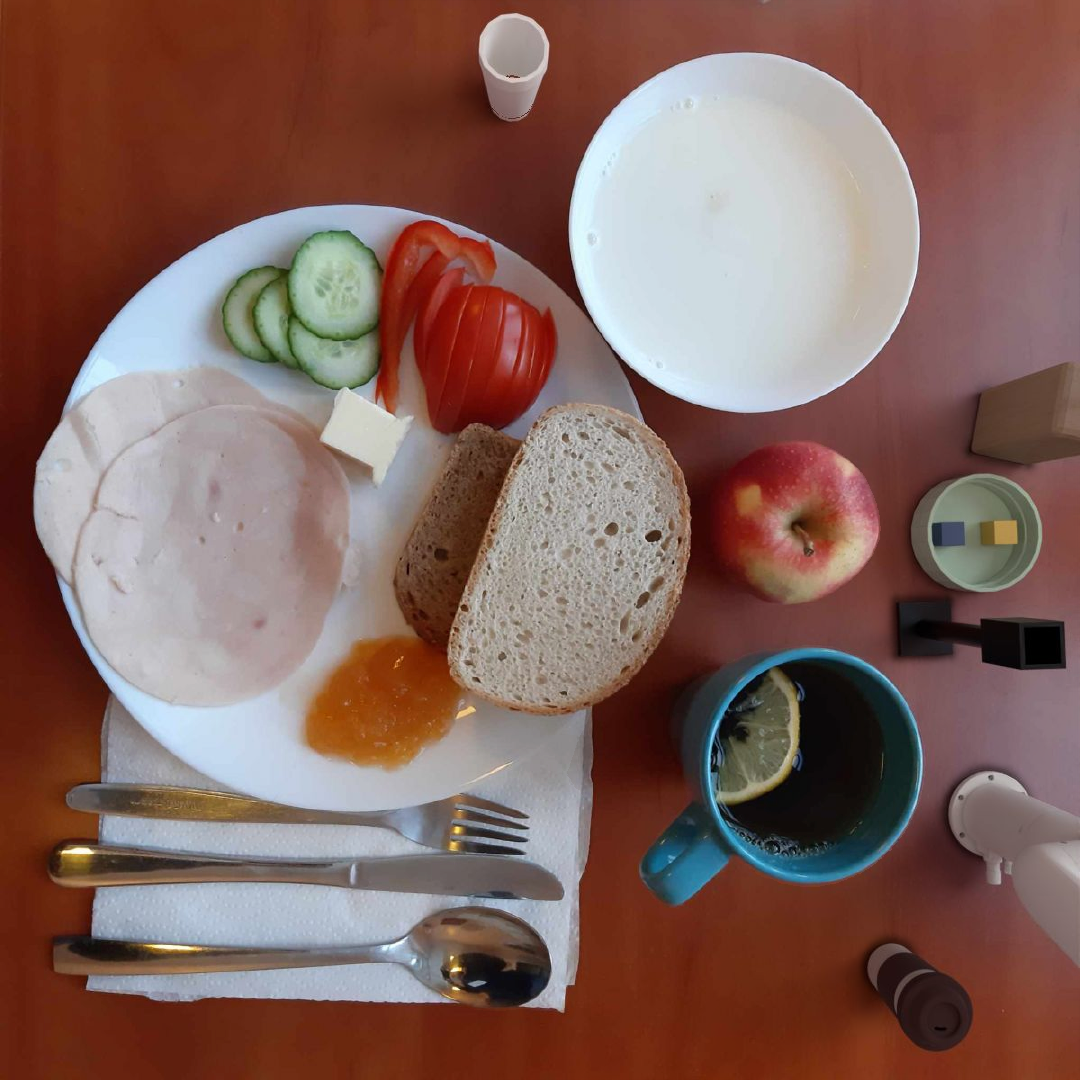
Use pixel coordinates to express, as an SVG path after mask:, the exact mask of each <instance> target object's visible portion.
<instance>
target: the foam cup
mask: <svg viewBox="0 0 1080 1080" xmlns="http://www.w3.org/2000/svg"><path fill="white" fill-rule="evenodd" d="M549 54H550V42H549V40H548V36H547V35H546V32H545V30H544V28H543V27H542V26H541V25H539V24H538V23H537V22H536V21H535V19H533V18H532V17H529V16H526V15H523V14H520V13H518V12H515V13H505V14H500V15H498V16H497V17H495V18H494V19H493V20H490V21H489V22H487V25H486V26H485V28H484V29H483V30H482V32H481V34H480V35H479V45H478V63H479V66H480V68H481V71H482V75H483V80H484V84H485V88H486V93H487V97H488V101H489V104H490V107H491V110H492V112H493V113H494V114H495V115H496V116H497V117H498V118H499V119H500V120H503V121H506V122H509V123H510V122H519V121H520V120H522V119H524V118H525V117H527V116H528V115H529V112H530V111H531V110H532V108H533V105H534V103H535V99H536V97H537V94H538V91H539V90H540V89H539V88H540V86H541V83H542V80H543V77H544V75H545V74H546V72H547V70H548V64H549ZM507 75H508V76H510V75H514V76H518V77H520V78H514V77H510V78H509V77H506V76H507ZM532 104H533V105H532ZM531 106H532V107H531ZM492 108H493V109H494V110H495V111H496V112H497V113H498V114H499V115H498V114H497V113H496V112H495V111H494V110H493V109H492ZM529 109H530V110H529ZM528 111H529V112H528ZM527 112H528V113H527ZM525 113H527V114H525ZM524 114H525V115H524ZM522 115H524V116H522ZM502 116H503V117H502ZM521 116H522V117H521ZM505 117H506V118H505ZM516 117H520V118H516ZM508 118H516V119H508Z"/></svg>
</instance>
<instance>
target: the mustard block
mask: <svg viewBox="0 0 1080 1080" xmlns="http://www.w3.org/2000/svg"><path fill="white" fill-rule="evenodd" d="M980 524H981V545H1005V544H1018V541H1017V520H1009V521H986V522H980Z"/></svg>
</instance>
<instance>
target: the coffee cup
mask: <svg viewBox="0 0 1080 1080" xmlns="http://www.w3.org/2000/svg"><path fill="white" fill-rule="evenodd" d="M867 975H868V978H869V980H870V982H871V984H872V985H873V986H874V988H875V989H876V991H877V992H878V994H879V996H880V998H881V999H882V1001H883V1003H885V1005H886V1006H887V1008H888V1009H889V1011H890V1012H891V1013H892V1014H893V1016H894V1017H895V1018H896V1019H897V1021H898V1024H899V1026H900V1028H901V1030H902V1032H903V1033H904V1035H906V1037H907V1038H908V1039H909V1040H910V1042H912V1043H913V1044H914V1045H915V1046H916V1047H918V1048H920V1049H922V1050H924V1051H928V1052H933V1053H934V1052H935V1053H939V1052H944V1051H948V1050H951V1049H953V1048H955V1047H956V1046H958V1045H959V1044H960V1043H962V1042H963V1041H964V1039H965V1038H966V1036H967V1035H968V1034H969V1032H970V1030H971V1027H972V1024H973V1020H974V1006H973V1003H972V1002H973V1001H972V1000H971V997H970V995H969V992H968V991H967V990H966V988H964V986H963V985H962V984H960V983H959V982H958V981H957V980H956V979H955V978H953V977H952V976H951V975H948V974H946V973H943V972H941V971H939V970H938V969H937V968H936V967H934V966H933V965H931V964H930V963H929V962H928V961H926V960H925V959H923V957H921V956H919V955H917V954H915V953H913V952H911V951H910V950H909V949H908V948H906V947H905V946H903V945H901V944H897V943H885V944H882V945H880V946H878V947H877V948H876V949H874V951H872V953H871V954H870V957H869V960H868V962H867Z"/></svg>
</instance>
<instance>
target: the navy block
mask: <svg viewBox="0 0 1080 1080" xmlns="http://www.w3.org/2000/svg"><path fill="white" fill-rule="evenodd" d="M931 528H932V543H933V546H963V545H965V528H964V522H937V523H932V527H931Z"/></svg>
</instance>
